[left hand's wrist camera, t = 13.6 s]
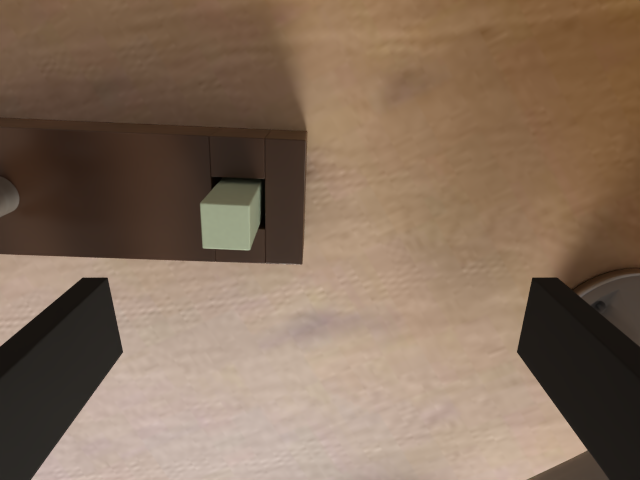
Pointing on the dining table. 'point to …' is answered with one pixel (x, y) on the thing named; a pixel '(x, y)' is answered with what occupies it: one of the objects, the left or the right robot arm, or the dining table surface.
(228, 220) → the peg
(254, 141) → the peg block
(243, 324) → the dining table surface
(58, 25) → the dining table surface
